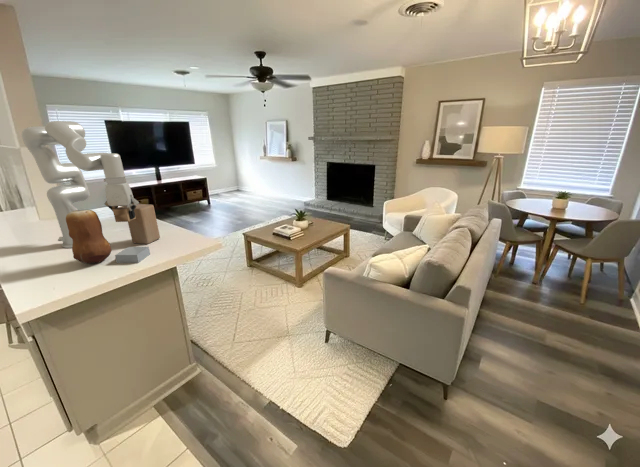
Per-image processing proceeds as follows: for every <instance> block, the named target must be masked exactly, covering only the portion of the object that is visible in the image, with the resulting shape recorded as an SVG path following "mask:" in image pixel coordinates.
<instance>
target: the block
mask: <svg viewBox="0 0 640 467" xmlns="http://www.w3.org/2000/svg"><path fill="white" fill-rule="evenodd" d="M134 212H135V216H136V218H135V219H133V220H131V221H129V222H127V225H128V228H129V233H130V237H131V241H132V243H133V244H138V245H139V244H141V245H142V244H143V245H149V244H151V243H153V242H156V241H157V240H160V239H161V236H160V231H159V224H158V221H157V216H156V211H155V207H154V204H148V203H147V204H142V203H139V204H138V205H137V207H136V208H135V210H134Z"/></svg>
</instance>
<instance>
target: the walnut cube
mask: <svg viewBox="0 0 640 467" xmlns="http://www.w3.org/2000/svg"><path fill="white" fill-rule="evenodd" d="M112 212H113V217H114V221H115V223H121V222H122V223H125V222H126V223H128V222H129V221H131V220H133V219H135V218H136V216H135V218H133V219H130V216H129V209H128V208H127V206H118V208H116V209H113V211H112Z"/></svg>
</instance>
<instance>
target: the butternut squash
mask: <svg viewBox="0 0 640 467" xmlns="http://www.w3.org/2000/svg"><path fill="white" fill-rule="evenodd" d="M100 220H101V219H100V218H99V215H98V213H97V212H96V211H95V210H92V209H84V210H83V209H81V210H79V209H78V210H75V211H72V212H69V213H68V214H67V216H66V223H67V227H68V230H69V236H70V237H71V238H72V240H73V245H72V248H71V250H72V255H73V259H74V260H76V261H78V262H80V263H82V264H100V263H101V262H102V261H103V262H104V261H105V260H106V259H107V258H108V257H109V256H110V255H111V252H112V247H111V245H110V242H109V240H107V238H105V236H104V234H103V224H102V223H101V221H100ZM103 262H102V263H103Z"/></svg>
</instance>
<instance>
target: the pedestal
mask: <svg viewBox="0 0 640 467" xmlns="http://www.w3.org/2000/svg"><path fill="white" fill-rule="evenodd" d="M150 255H151V252H150V247H149V246H128V247H126V248H123V249H122V250H120V251H119V252H117V253H116V254H115V255H114V257H115V261H116V263H117V264H132V263H133V264H138V263H140V262H142V261H143V260H144V259H145V258H147V257H148V256H150Z"/></svg>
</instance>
